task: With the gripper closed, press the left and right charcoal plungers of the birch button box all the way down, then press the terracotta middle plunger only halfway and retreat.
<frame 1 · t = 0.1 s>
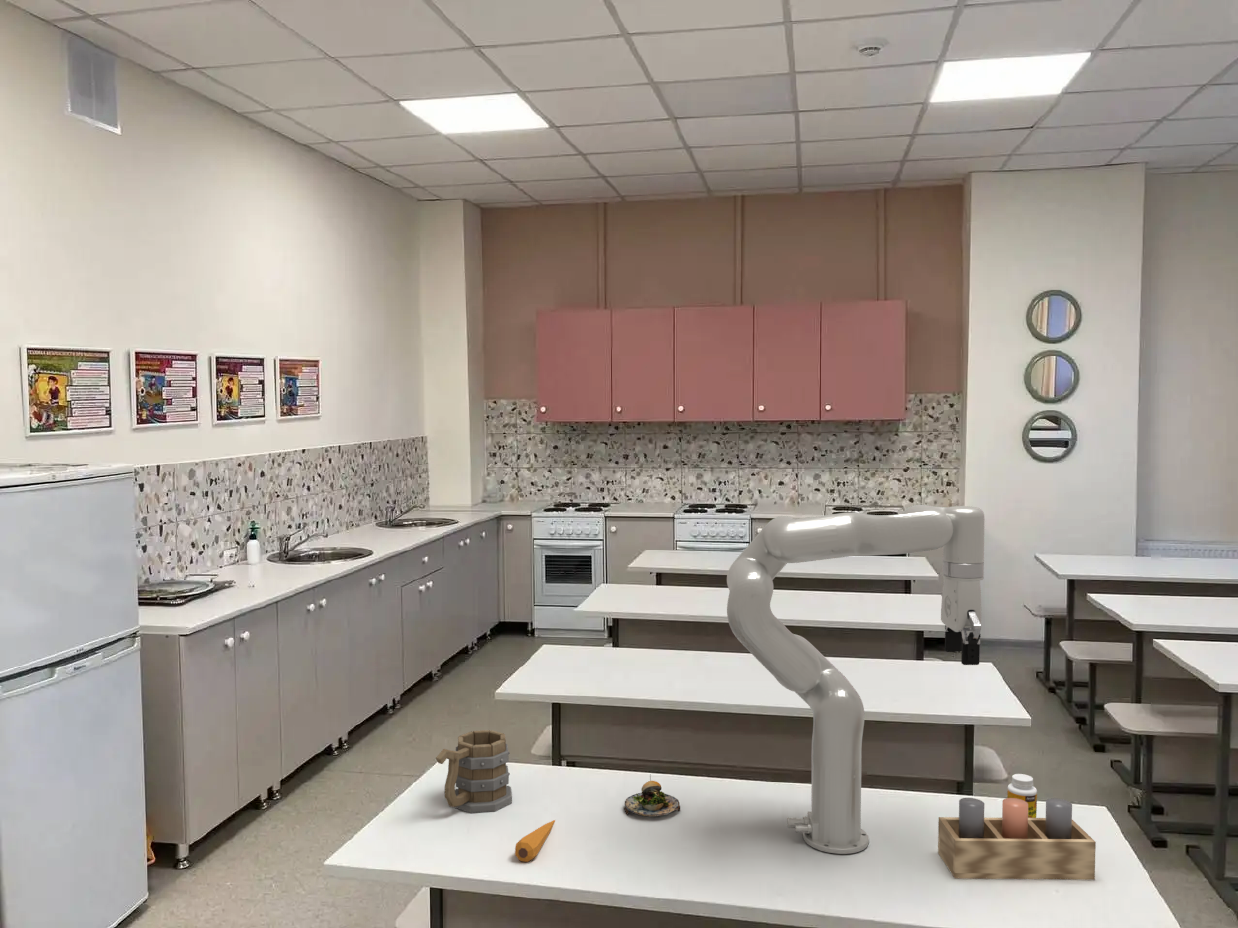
hand: (961, 657, 186), 37 cm above the table, tool pointing down, fingers open, 9 cm apart
carrot: (541, 842, 189), on the table
plunger right: (1058, 821, 177), point 9 cm above the table, slide at 0.0 cm
tankard: (470, 807, 206), on the table
supplement bottle: (1021, 827, 195), on the table
burger: (652, 811, 204), on the table
plunger left: (971, 820, 178), point 8 cm above the table, slide at 0.0 cm
plunger middle: (1014, 821, 178), point 9 cm above the table, slide at 0.0 cm
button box: (1014, 865, 178), on the table
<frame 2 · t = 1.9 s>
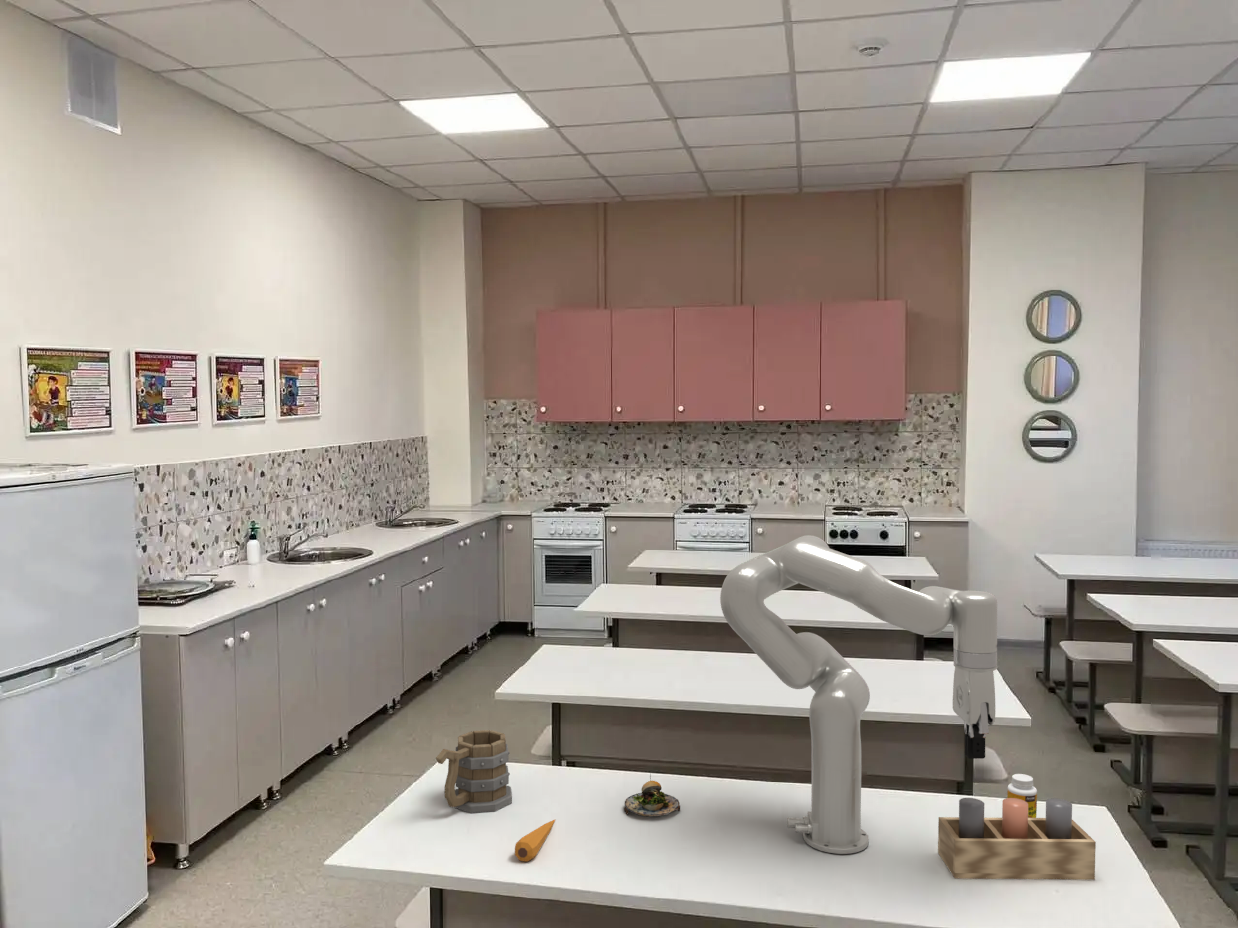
hand: (974, 756, 177), 21 cm above the table, tool pointing down, fingers closed
nothing on the table moved.
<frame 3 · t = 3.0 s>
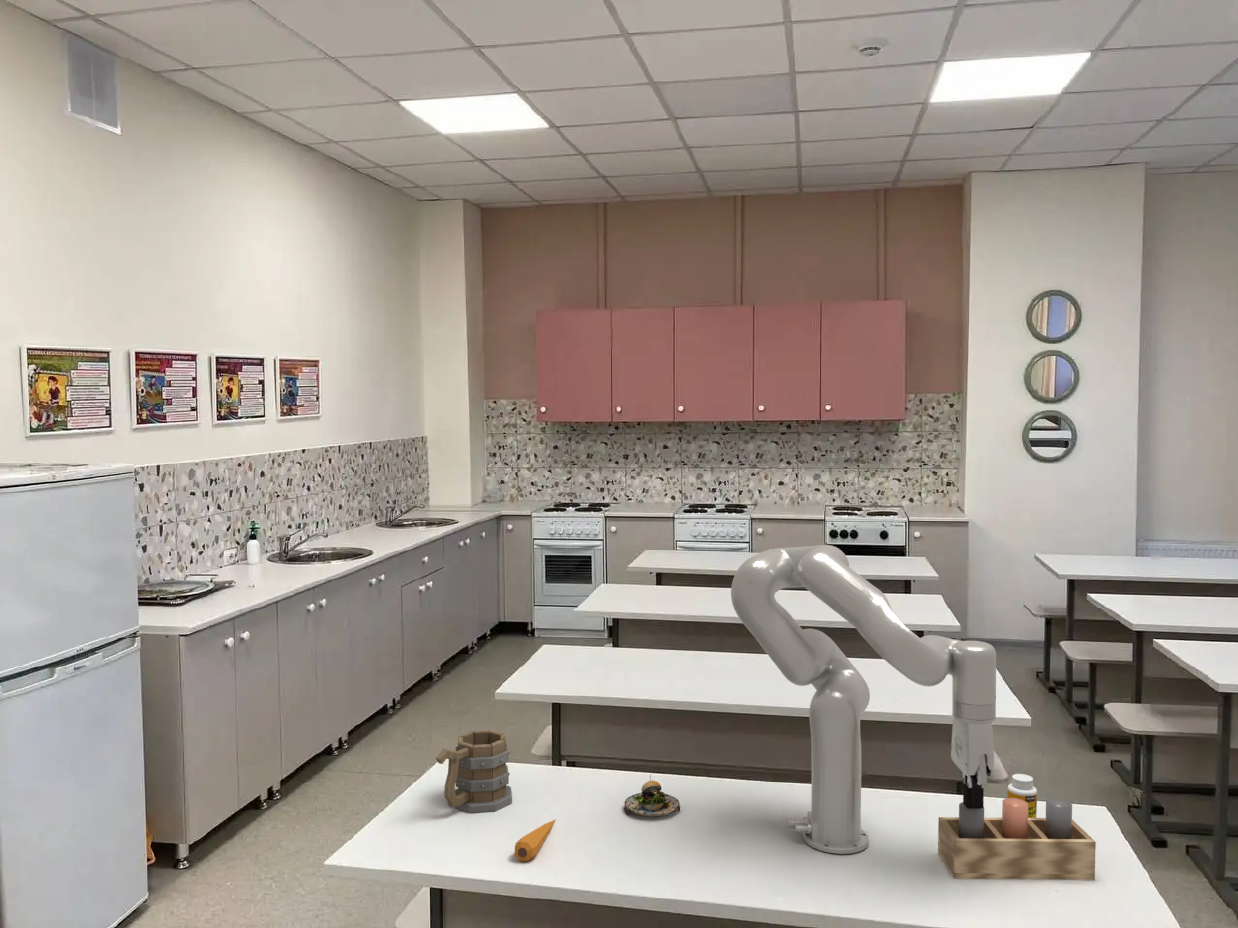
hand: (973, 806, 178), 11 cm above the table, tool pointing down, fingers closed
plunger left: (971, 824, 178), point 8 cm above the table, slide at 0.8 cm, touching gripper
everything else where it was.
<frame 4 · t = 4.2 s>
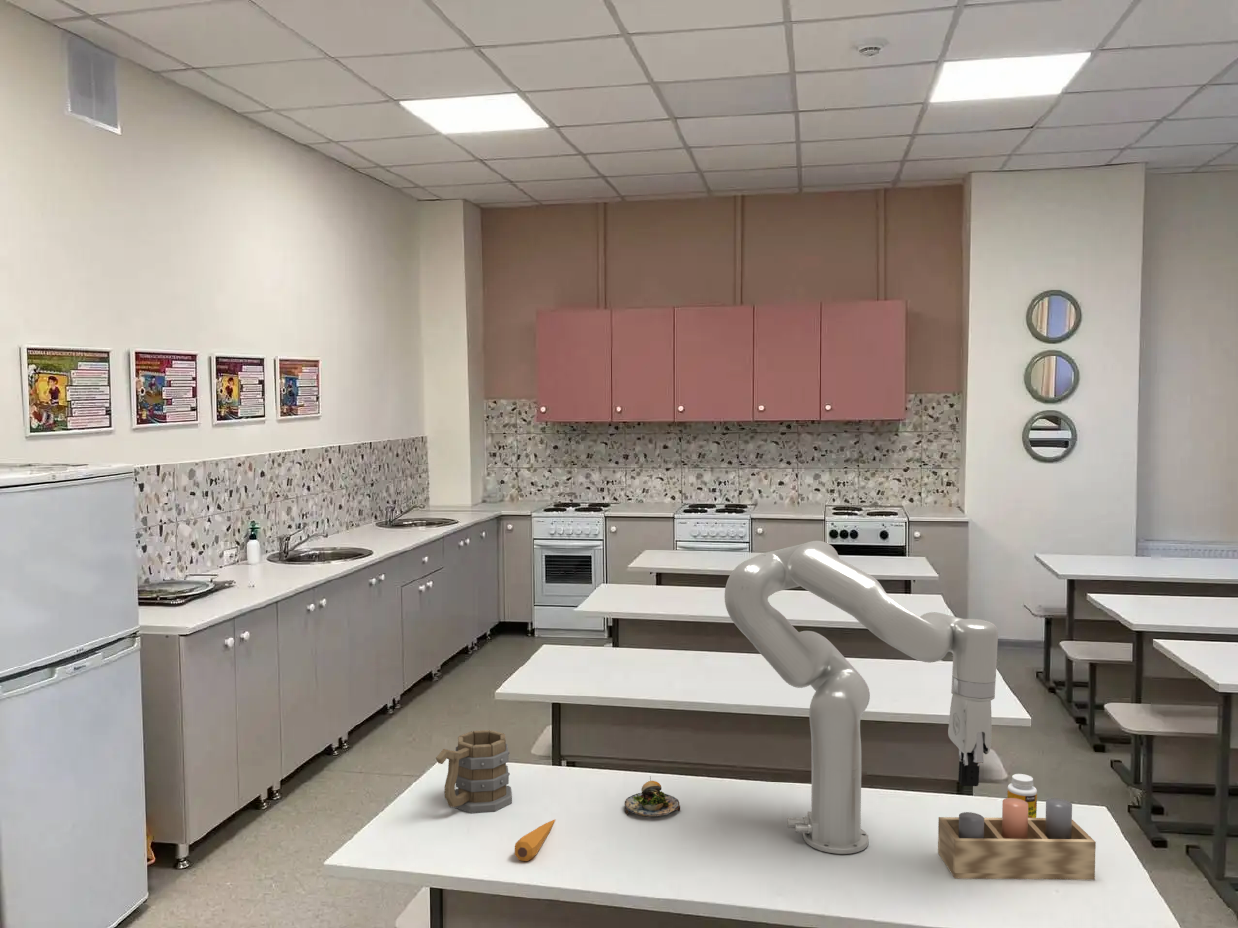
hand: (968, 783, 178), 15 cm above the table, tool pointing down, fingers closed
plunger left: (971, 835, 178), point 6 cm above the table, slide at 2.8 cm
everything else where it was.
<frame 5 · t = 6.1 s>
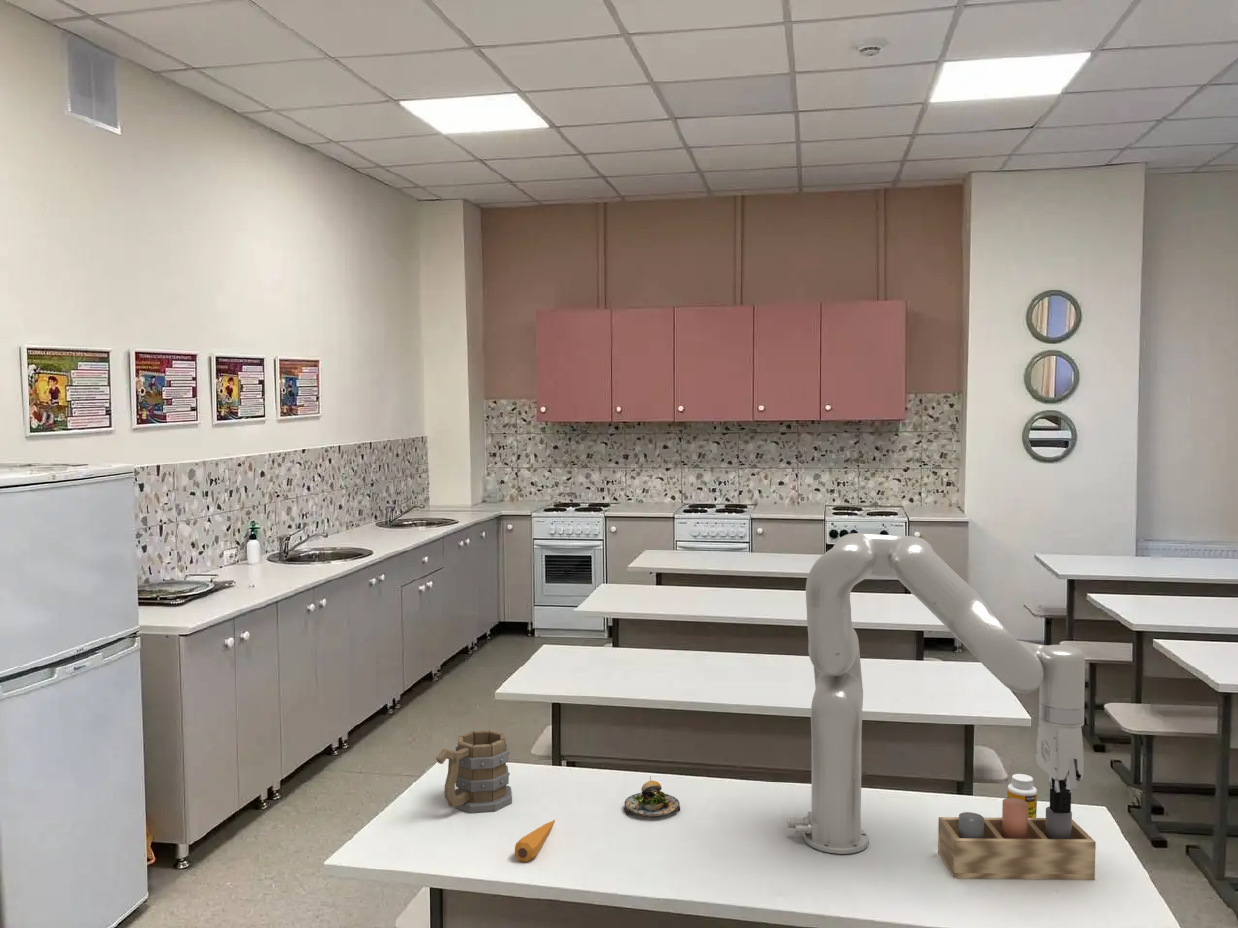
hand: (1060, 810, 177), 11 cm above the table, tool pointing down, fingers closed
plunger right: (1058, 829, 178), point 7 cm above the table, slide at 1.5 cm, touching gripper
everything else where it was.
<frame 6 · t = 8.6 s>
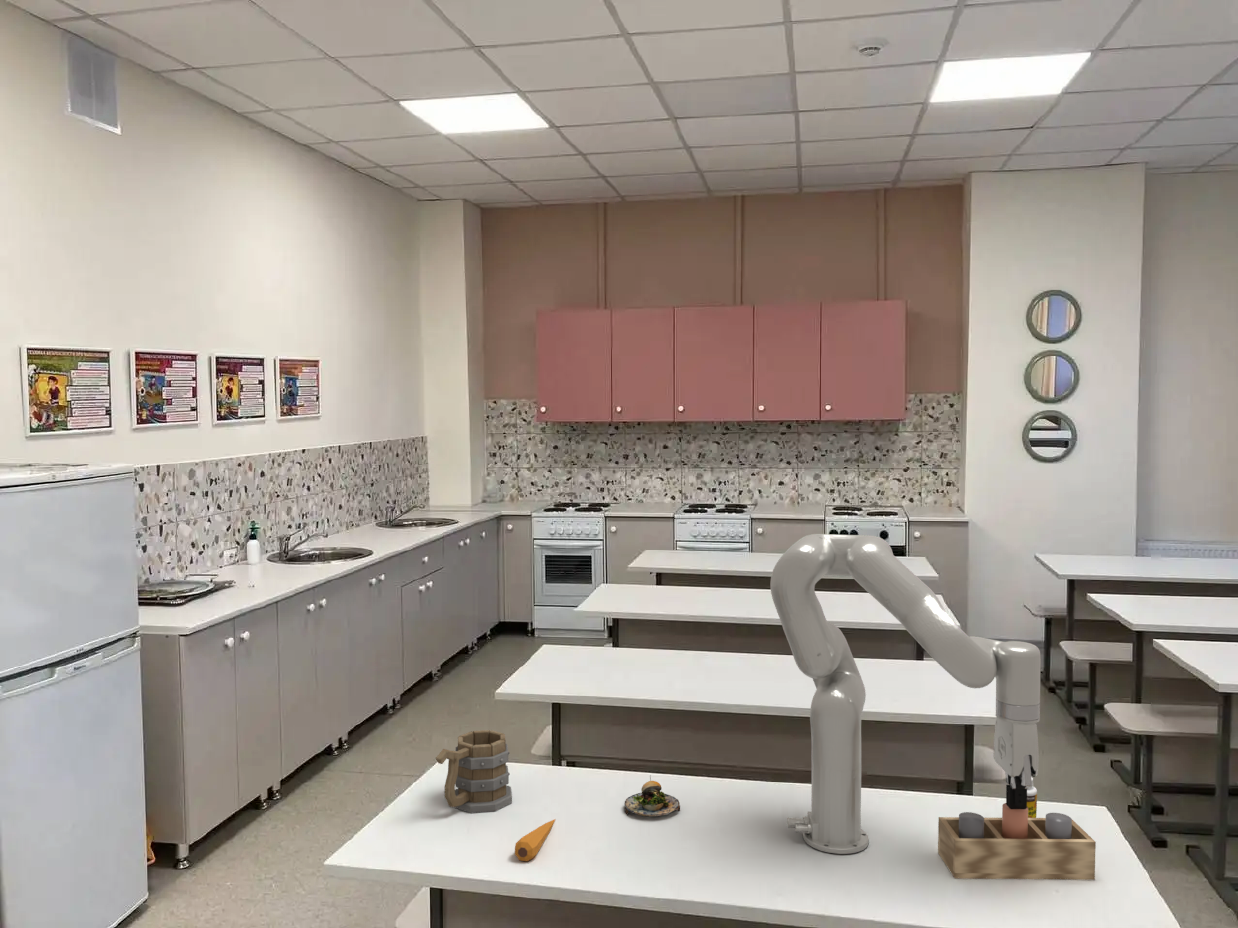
hand: (1016, 807, 177), 11 cm above the table, tool pointing down, fingers closed
plunger right: (1058, 835, 178), point 6 cm above the table, slide at 2.8 cm
plunger middle: (1014, 825, 178), point 8 cm above the table, slide at 0.9 cm, touching gripper
everything else where it was.
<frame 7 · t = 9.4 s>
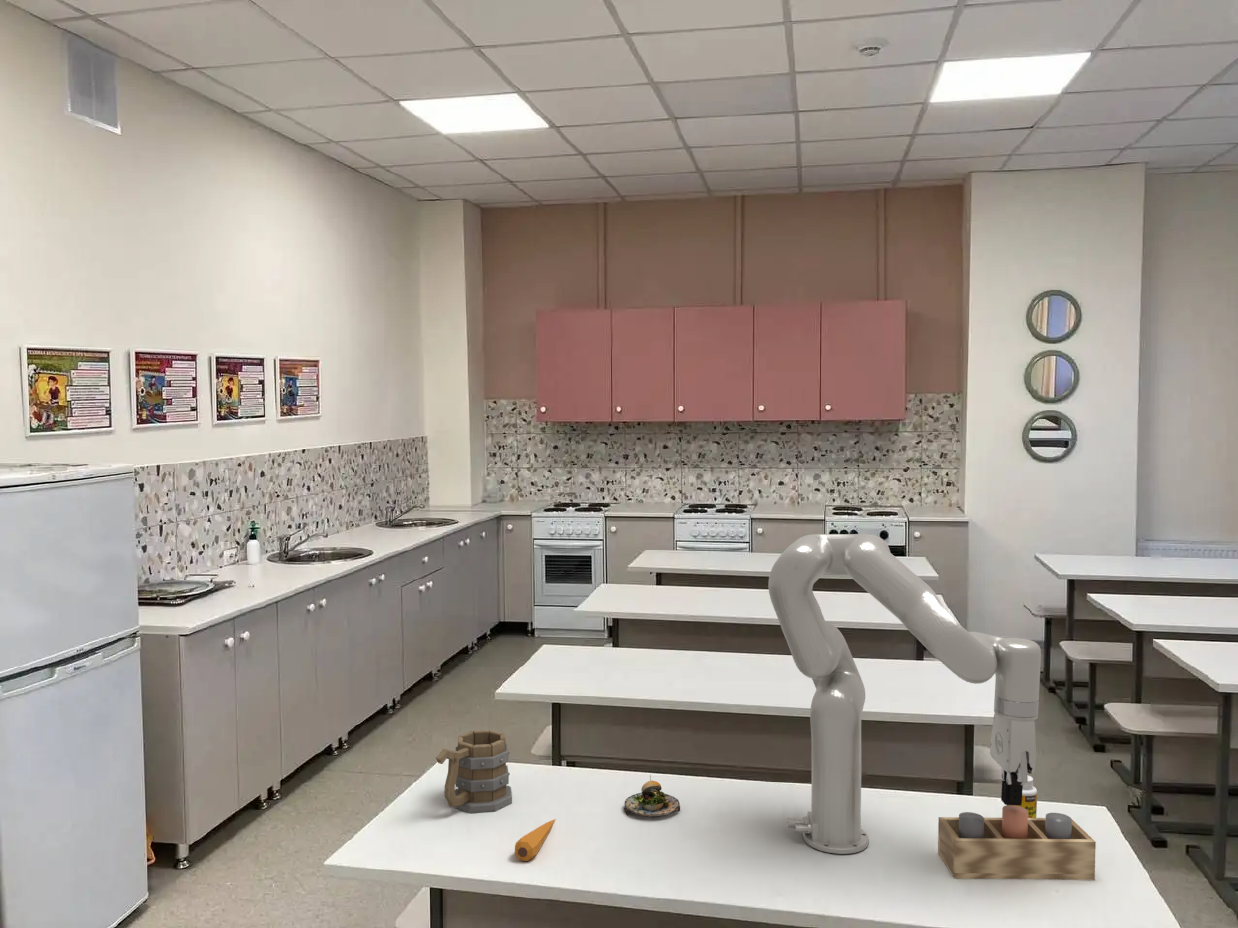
hand: (1011, 802, 178), 12 cm above the table, tool pointing down, fingers closed
plunger middle: (1014, 828, 178), point 7 cm above the table, slide at 1.4 cm
everything else where it was.
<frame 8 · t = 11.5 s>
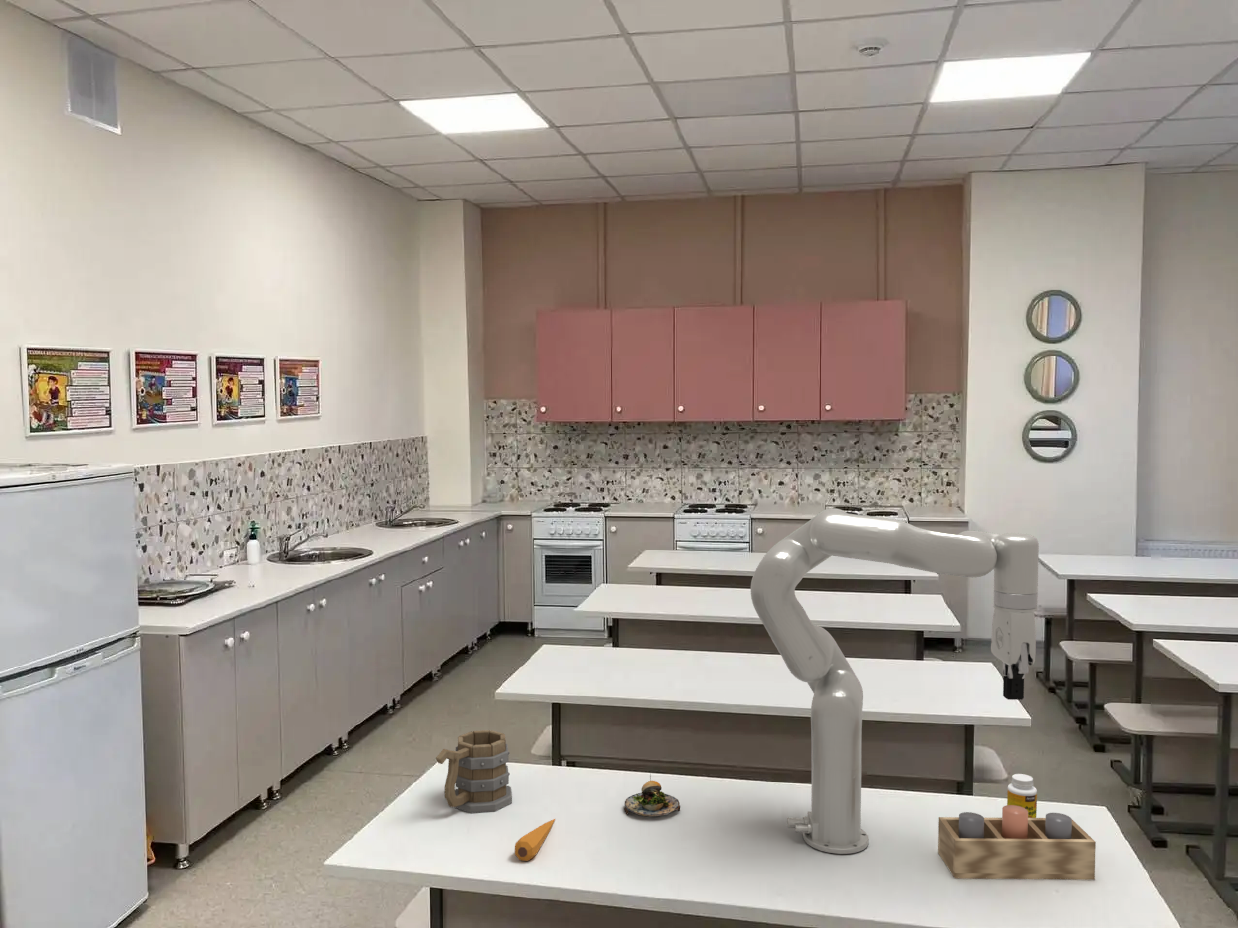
hand: (1013, 697, 178), 31 cm above the table, tool pointing down, fingers closed
nothing on the table moved.
at the end: plunger left slide at 2.8 cm; plunger right slide at 2.8 cm; plunger middle slide at 1.4 cm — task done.
